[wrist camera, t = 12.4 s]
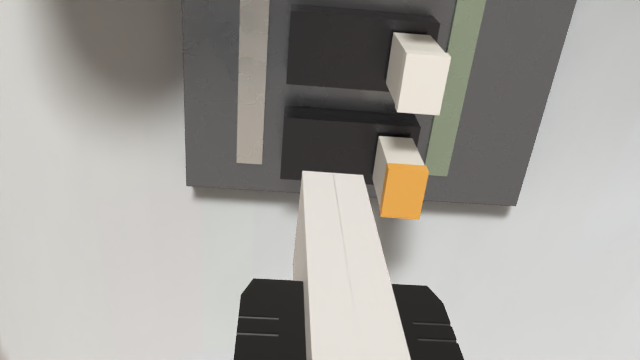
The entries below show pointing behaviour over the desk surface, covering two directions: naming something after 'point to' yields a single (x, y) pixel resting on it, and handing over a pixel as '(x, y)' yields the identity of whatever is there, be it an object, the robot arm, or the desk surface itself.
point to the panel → (365, 91)
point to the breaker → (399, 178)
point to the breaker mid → (417, 73)
